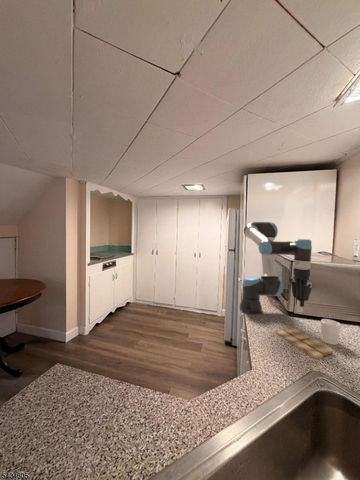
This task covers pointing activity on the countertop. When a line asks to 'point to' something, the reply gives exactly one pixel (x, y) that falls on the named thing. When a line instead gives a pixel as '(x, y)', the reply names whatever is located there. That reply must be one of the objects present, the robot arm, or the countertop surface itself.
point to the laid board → (299, 344)
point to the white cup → (330, 331)
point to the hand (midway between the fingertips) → (299, 311)
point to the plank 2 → (318, 346)
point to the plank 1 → (296, 334)
